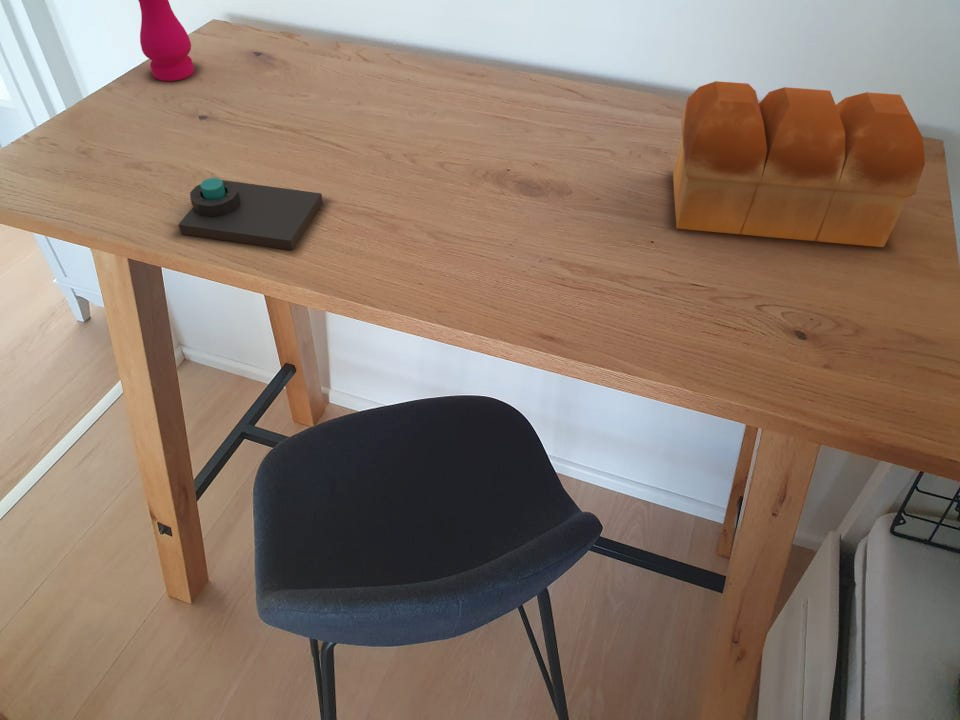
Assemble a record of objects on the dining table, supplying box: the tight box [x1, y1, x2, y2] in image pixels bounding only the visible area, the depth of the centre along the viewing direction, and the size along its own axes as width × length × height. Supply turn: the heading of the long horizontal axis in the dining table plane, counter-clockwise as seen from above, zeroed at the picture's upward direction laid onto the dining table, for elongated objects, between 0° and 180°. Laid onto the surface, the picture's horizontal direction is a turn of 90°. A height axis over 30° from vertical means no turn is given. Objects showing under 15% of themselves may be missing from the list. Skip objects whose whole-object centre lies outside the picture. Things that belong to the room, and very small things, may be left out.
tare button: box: [199, 177, 226, 200], centre depth 91 cm, size 3×3×2 cm
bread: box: [672, 80, 926, 248], centre depth 90 cm, size 25×12×15 cm, turn 82°
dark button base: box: [177, 179, 324, 251], centre depth 92 cm, size 14×10×3 cm
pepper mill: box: [137, 0, 195, 82], centre depth 113 cm, size 7×7×20 cm
